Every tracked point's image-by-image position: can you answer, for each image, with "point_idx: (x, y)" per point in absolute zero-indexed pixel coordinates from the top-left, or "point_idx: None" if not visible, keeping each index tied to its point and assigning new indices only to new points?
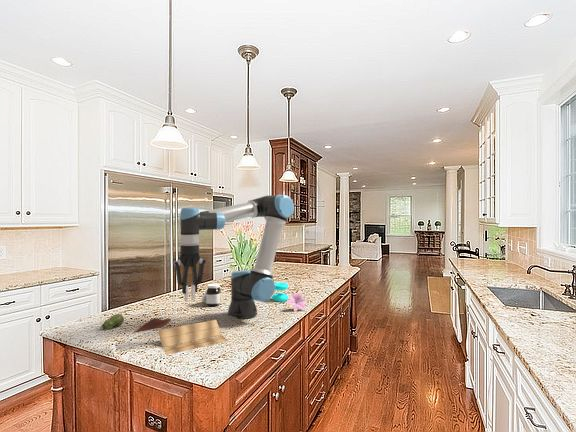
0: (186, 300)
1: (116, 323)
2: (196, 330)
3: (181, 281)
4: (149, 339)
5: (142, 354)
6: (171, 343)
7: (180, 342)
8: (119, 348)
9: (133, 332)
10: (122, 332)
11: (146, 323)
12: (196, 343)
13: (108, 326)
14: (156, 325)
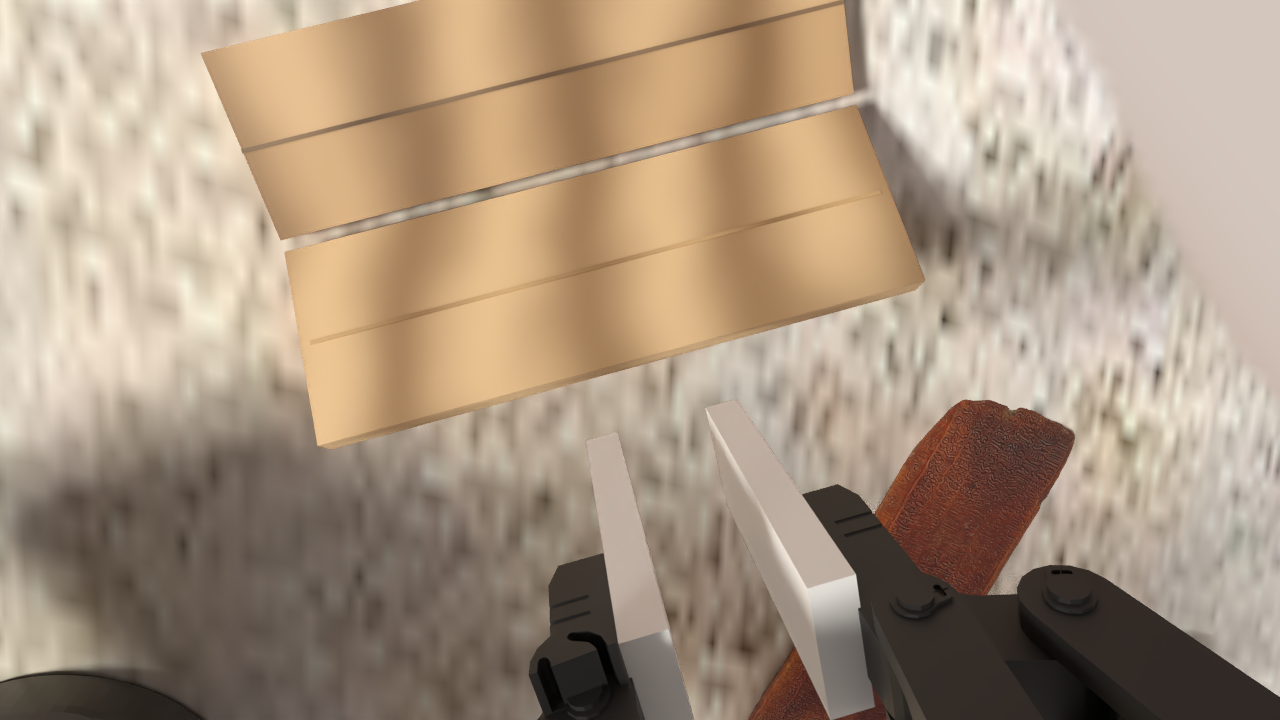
0: (741, 408)
1: None
2: (547, 291)
3: (1086, 650)
4: (917, 392)
5: (997, 81)
6: (783, 143)
7: (701, 155)
8: (1129, 272)
9: (1010, 553)
10: None
11: None
12: (551, 95)
13: None
14: None
